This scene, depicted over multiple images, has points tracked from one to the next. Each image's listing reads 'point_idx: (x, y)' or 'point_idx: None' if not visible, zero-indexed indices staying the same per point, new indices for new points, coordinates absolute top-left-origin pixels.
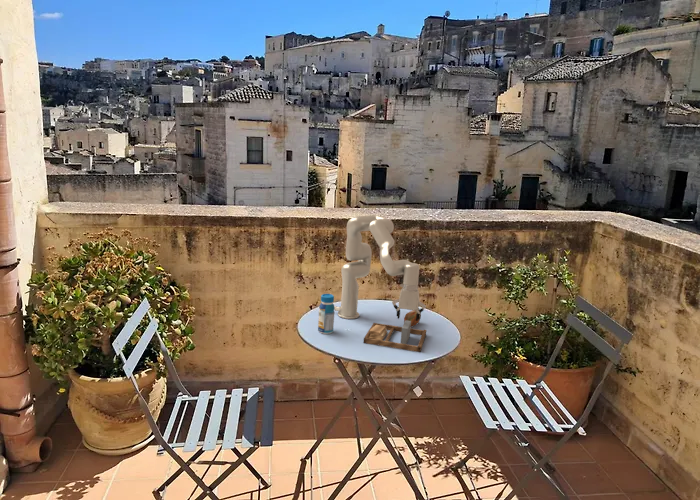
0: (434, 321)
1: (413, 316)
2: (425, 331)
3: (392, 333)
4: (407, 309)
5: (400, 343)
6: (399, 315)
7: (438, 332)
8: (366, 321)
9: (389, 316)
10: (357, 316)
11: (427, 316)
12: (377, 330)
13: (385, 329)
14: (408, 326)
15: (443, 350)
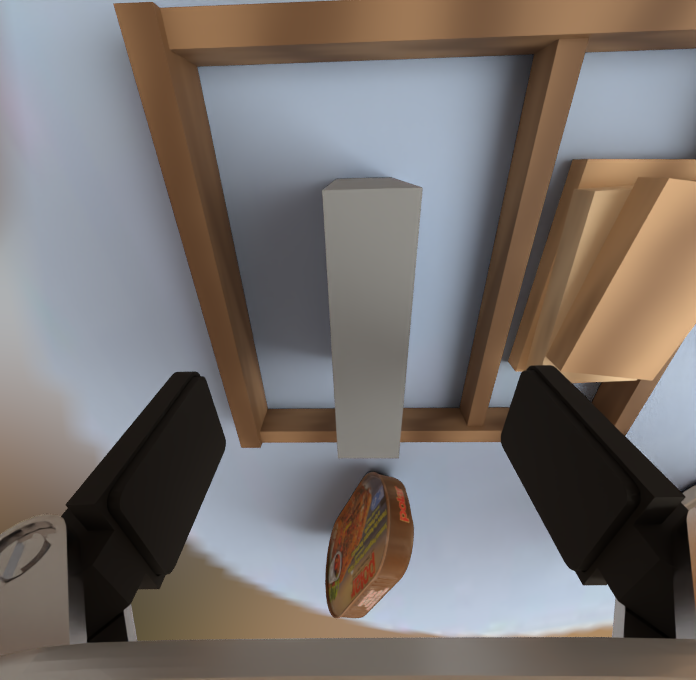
0: (269, 558)
1: (358, 558)
2: (237, 423)
3: (468, 365)
4: (409, 640)
5: (386, 33)
6: (528, 439)
7: None
8: None
9: (485, 547)
10: (690, 500)
11: (313, 584)
12: (680, 239)
13: (548, 353)
14: (331, 295)
15: (16, 205)
